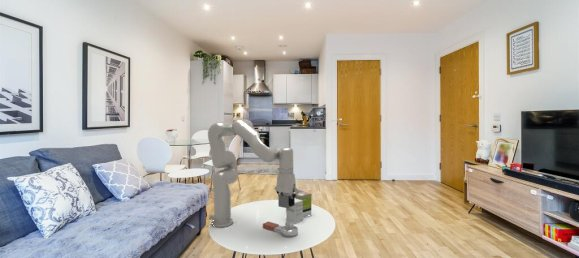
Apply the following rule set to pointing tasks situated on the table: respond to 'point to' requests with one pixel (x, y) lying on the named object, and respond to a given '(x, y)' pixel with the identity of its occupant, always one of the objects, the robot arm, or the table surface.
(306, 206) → the tea box
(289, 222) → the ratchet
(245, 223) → the table surface
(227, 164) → the robot arm
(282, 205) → the brushed grey cube
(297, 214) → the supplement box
